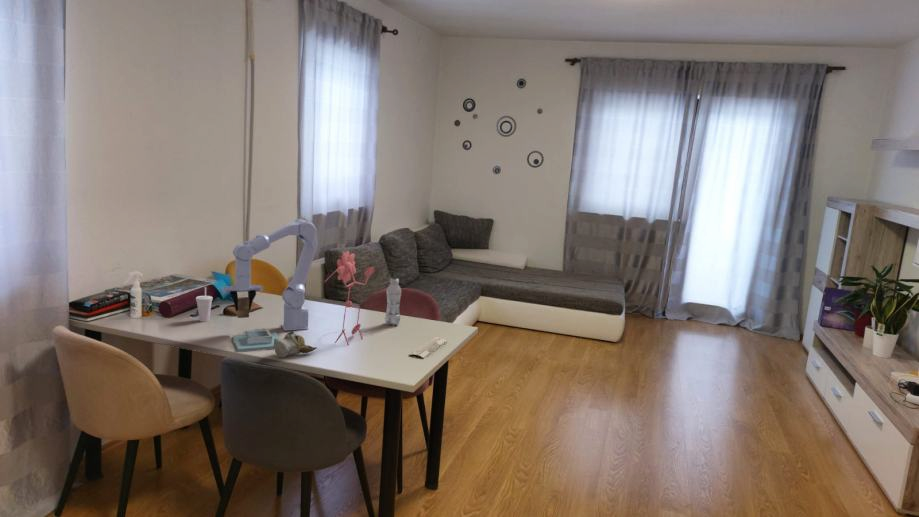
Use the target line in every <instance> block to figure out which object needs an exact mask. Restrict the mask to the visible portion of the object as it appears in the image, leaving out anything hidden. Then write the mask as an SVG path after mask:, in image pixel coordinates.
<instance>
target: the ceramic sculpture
mask: <svg viewBox="0 0 919 517" xmlns="http://www.w3.org/2000/svg"><path fill="white" fill-rule="evenodd" d="M305 342H306V341H305V338H304V337H303V336H302V335H300V334H297V333H294V331H289V332H287V333H286V334H285V336H284V337H282V338H280V339H276V338H275V339H274V349H273V350H274V352H275V355H276V356H277V357H278V358H286V356H287V355H291V356H292V355H299V354H309V353H311V352H313V351H315V350H317V349H318V347H315V346H311V345H307V344H306V343H305Z"/></svg>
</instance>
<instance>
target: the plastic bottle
mask: <svg viewBox="0 0 919 517" xmlns="http://www.w3.org/2000/svg"><path fill="white" fill-rule="evenodd" d="M389 283H390V284H389V285H388V287H387V288H386V313H385V315H384V316H385V317H384V322H385V324H386V325H389V326H396V325H398V324H400V320H401V314H400V303H401V298H402V297H401V296H402V288H401V286H400V285H399V284H400V279H399V278H398V277H391V278H390V279H389Z"/></svg>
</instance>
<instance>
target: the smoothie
mask: <svg viewBox="0 0 919 517" xmlns="http://www.w3.org/2000/svg"><path fill="white" fill-rule="evenodd" d="M213 298H214V297H213V296H211V295H207V287H206V286H204V295H198V296H196V297H195V301H196V305H197V310H198V311H197V312H198V319H199V322H201V323H202V322H203V323H206V322H209V321H210V317H211V310H212V303H213V302H212V301H213Z"/></svg>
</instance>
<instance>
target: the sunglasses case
mask: <svg viewBox="0 0 919 517" xmlns="http://www.w3.org/2000/svg"><path fill="white" fill-rule="evenodd" d="M262 309H264V306H261V305H259V304H257V303H256V302H254V301H253V302H252V305H251V309H250V310H249V314H250V313H252V312H256V311H258V310H262ZM222 313H223V315H224V316H229V317H236V318H238V317H237V311H236V310H235V305H234V303H233V304H230V305H227V306H225V307H223V310H222Z"/></svg>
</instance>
